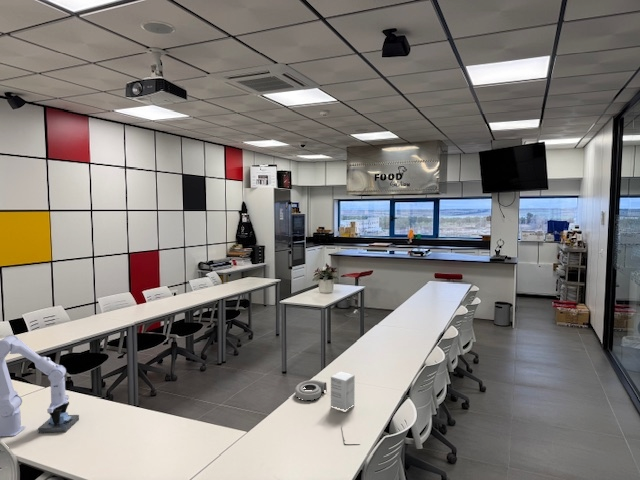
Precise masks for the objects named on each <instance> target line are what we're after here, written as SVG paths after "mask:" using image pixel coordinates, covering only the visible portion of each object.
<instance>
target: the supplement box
mask: <svg viewBox="0 0 640 480" xmlns="http://www.w3.org/2000/svg"><path fill="white" fill-rule="evenodd" d="M352 405H354V406H355V374H352V373H348V372H344V371H338V372H337V373H335V374H333V375H332V376H330V407H331V406H333V407H337V408H340V409H344V410H346V409H348V408H349V407H351V406H352Z"/></svg>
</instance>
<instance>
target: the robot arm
mask: <svg viewBox="0 0 640 480" xmlns="http://www.w3.org/2000/svg"><path fill="white" fill-rule="evenodd" d="M8 354H9V355H15V354H18V355H19V354H20V355H21V356H22V357H24V358H26V359H27V360H29V361H31V362H33V363H34V366H35V368H36V369H37V370H39V371H40V372H42V373H43V374H45V375H46V376H47V379H48V381H49V382H50V404H49V406H48V408H47V414H49V415H50V417H52V420H53V422H54V424H58V423H59V421H60V414H61V413H64V412H67V409H68V406H69V405H70V401H68V400H69V399H70V395H69V394H66V381H65V380H66V379H65V376H66V373H67V368H66V367H65V366H64V365H62V364H58V363H55V362H54V361H52V359H51V357H47V356H41V355H39V354H38V353H37V352H35V351H34V350H33V349H32V348H31V347H30V346H28V345H27V344H26V343H25V342H24V341H23V340H22V339H21V338H19V337H17V336H16V335H13V334H8V335H6V336H5V337H4V338H1V340H0V437H16V436H17V435H18V434H20V432H22V431H23V430H24V429H26V425H23V426H22V420H21V408H20V407H21V406H22V404H23V399H22V397H21V396H20V395H19V393H18V391H17V390H15V389H14V386H13V382H12V379H11V376H10V373H9V369H8V365H7V362H6V357H7V356H8Z"/></svg>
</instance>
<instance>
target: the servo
mask: <svg viewBox="0 0 640 480" xmlns="http://www.w3.org/2000/svg"><path fill="white" fill-rule="evenodd" d="M68 415H69V412H67V411H66V412H64V413H61V414H60V421H59V423H58V424H65V423H67V422H70V420H69V419H70V418H71V416H68ZM46 421H47V422H50V424H54V422H53V420H52V417H51V416H49V418H48V419H47V420H46Z"/></svg>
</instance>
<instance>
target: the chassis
mask: <svg viewBox="0 0 640 480" xmlns="http://www.w3.org/2000/svg"><path fill="white" fill-rule="evenodd" d="M68 416H71V418H70V419H69V420H70V422H67V423H65V424H50V422H47V420H46V421H45V422H43V424H41V425H40V426H39V427H38V428H37V431H38V434H59V433H63V434H64V433H67V432H68V431H69V430H71V428H72V427H73V426H75V424H76V423H78V421H79V420H80V415H79V414H68Z"/></svg>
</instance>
